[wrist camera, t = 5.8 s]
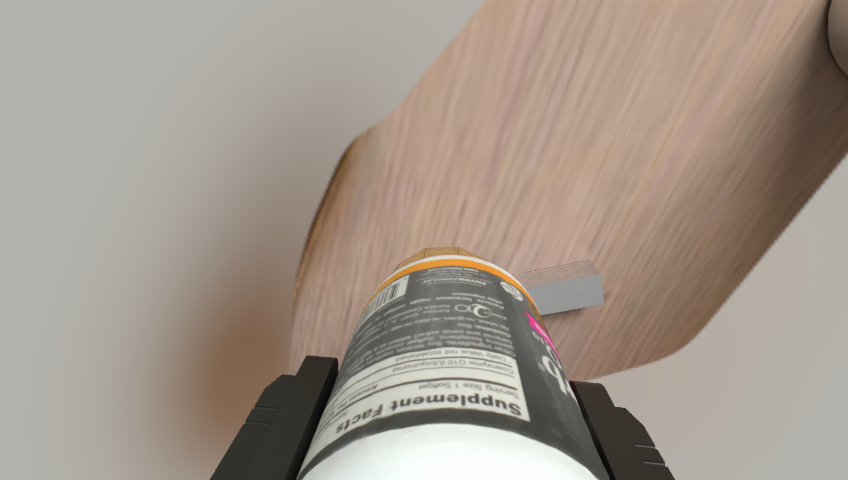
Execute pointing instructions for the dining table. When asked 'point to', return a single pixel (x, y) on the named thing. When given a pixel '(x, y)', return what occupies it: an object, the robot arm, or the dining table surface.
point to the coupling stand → (545, 282)
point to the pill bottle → (451, 386)
